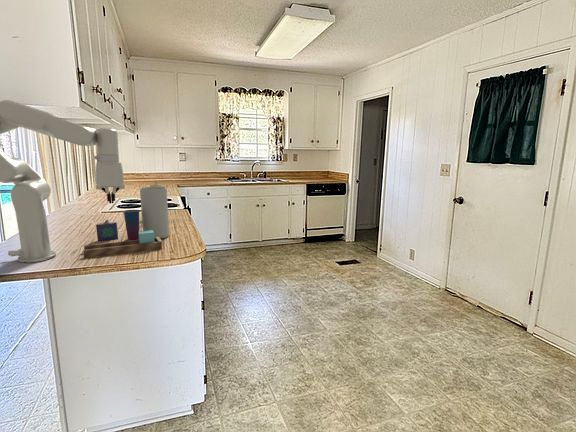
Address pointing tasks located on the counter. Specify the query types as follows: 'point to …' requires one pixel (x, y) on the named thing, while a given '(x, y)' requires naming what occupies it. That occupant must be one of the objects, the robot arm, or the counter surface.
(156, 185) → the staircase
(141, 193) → the cylinder vase
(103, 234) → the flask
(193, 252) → the counter surface
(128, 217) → the cup
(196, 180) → the counter surface
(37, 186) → the robot arm
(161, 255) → the counter surface
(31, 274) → the counter surface
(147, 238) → the block
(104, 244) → the chute
